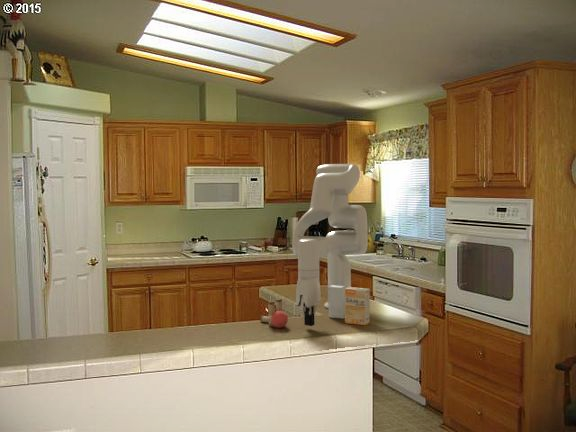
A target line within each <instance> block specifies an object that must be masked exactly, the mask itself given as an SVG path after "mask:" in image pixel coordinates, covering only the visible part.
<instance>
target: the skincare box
mask: <svg viewBox="0 0 576 432" xmlns="http://www.w3.org/2000/svg"><path fill="white" fill-rule="evenodd" d="M345 289H346V286H337V285H331V286H329V287H328V286H327V302H328V308H327V309H328V317H329V318H333V319H342V320H343V319H345Z"/></svg>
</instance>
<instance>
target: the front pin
mask: <svg viewBox="0 0 576 432" xmlns="http://www.w3.org/2000/svg"><path fill="white" fill-rule="evenodd" d="M259 321H260V322H261V323H268V324H269V316H267V315H266V316H265V315H260V318H259Z"/></svg>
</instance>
